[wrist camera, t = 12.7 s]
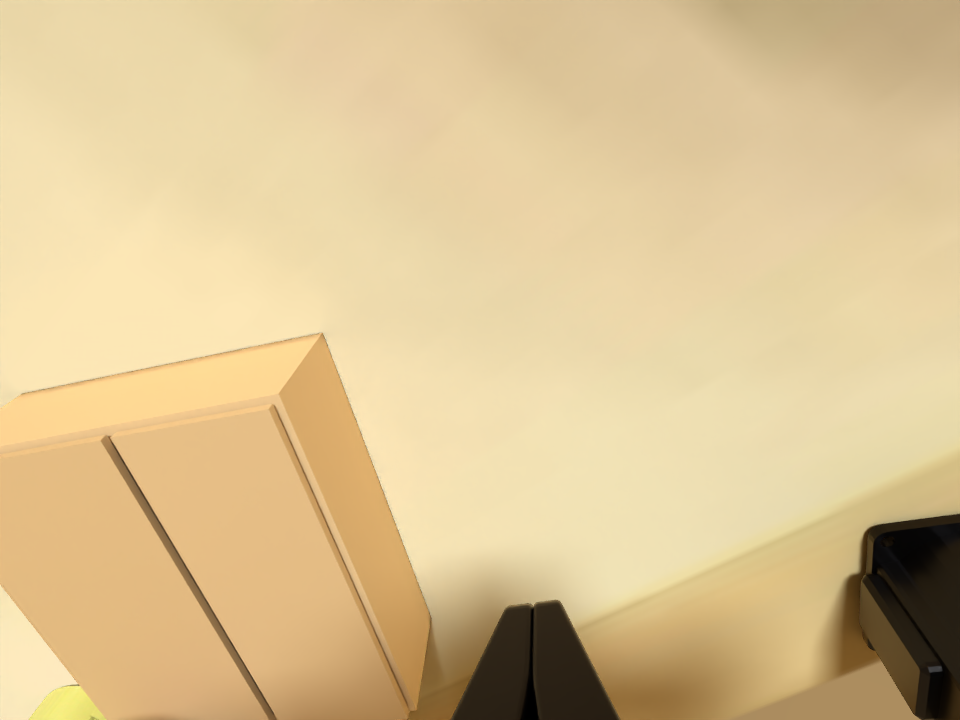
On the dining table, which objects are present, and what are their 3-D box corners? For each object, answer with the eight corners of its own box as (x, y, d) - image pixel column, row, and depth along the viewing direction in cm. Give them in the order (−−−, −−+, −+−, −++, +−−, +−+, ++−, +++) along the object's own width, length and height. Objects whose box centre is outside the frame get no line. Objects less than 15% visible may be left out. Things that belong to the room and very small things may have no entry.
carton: (322, 332, 21) (272, 401, 17) (431, 618, 27) (414, 722, 22) (22, 393, 23) (-91, 469, 18) (186, 647, 28) (129, 748, 24)
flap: (272, 403, 17) (268, 409, 17) (409, 710, 23) (408, 719, 22) (116, 432, 18) (109, 437, 17) (286, 722, 23) (283, 729, 23)
